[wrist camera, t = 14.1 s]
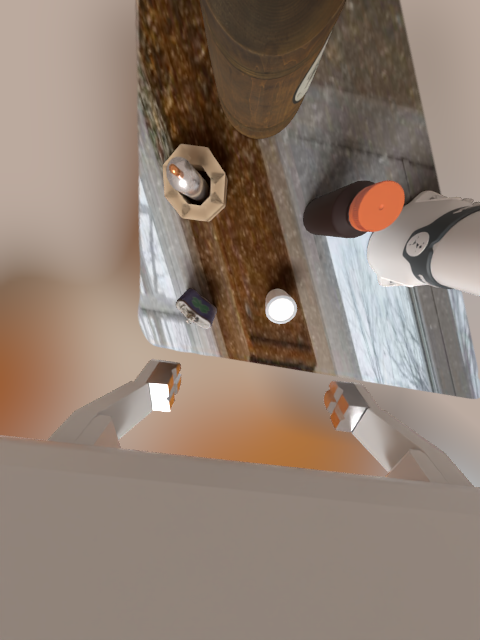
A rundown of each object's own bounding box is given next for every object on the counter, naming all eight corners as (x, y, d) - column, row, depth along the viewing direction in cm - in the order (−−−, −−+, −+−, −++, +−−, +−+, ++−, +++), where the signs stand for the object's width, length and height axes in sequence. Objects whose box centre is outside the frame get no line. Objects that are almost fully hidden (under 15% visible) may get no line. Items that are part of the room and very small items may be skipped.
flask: (219, 309, 49) (211, 329, 39) (212, 316, 50) (203, 337, 40) (190, 285, 46) (175, 300, 37) (184, 293, 47) (167, 310, 38)
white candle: (209, 178, 36) (188, 150, 23) (209, 202, 38) (188, 189, 25) (189, 176, 36) (155, 146, 23) (189, 200, 38) (158, 185, 25)
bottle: (307, 194, 37) (364, 164, 19) (341, 199, 37) (428, 174, 19) (298, 232, 40) (339, 236, 22) (329, 236, 40) (395, 244, 22)
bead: (229, 157, 35) (226, 149, 31) (224, 223, 40) (222, 223, 36) (170, 149, 34) (161, 141, 31) (173, 217, 39) (165, 216, 36)
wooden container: (311, 125, 32) (408, -34, 13) (228, 150, 34) (203, 47, 15) (305, -16, 26) (486, -780, 6) (204, 25, 28) (101, -458, 8)
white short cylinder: (270, 281, 45) (274, 290, 39) (295, 292, 46) (303, 302, 40) (258, 305, 48) (260, 317, 42) (282, 315, 49) (287, 328, 43)
